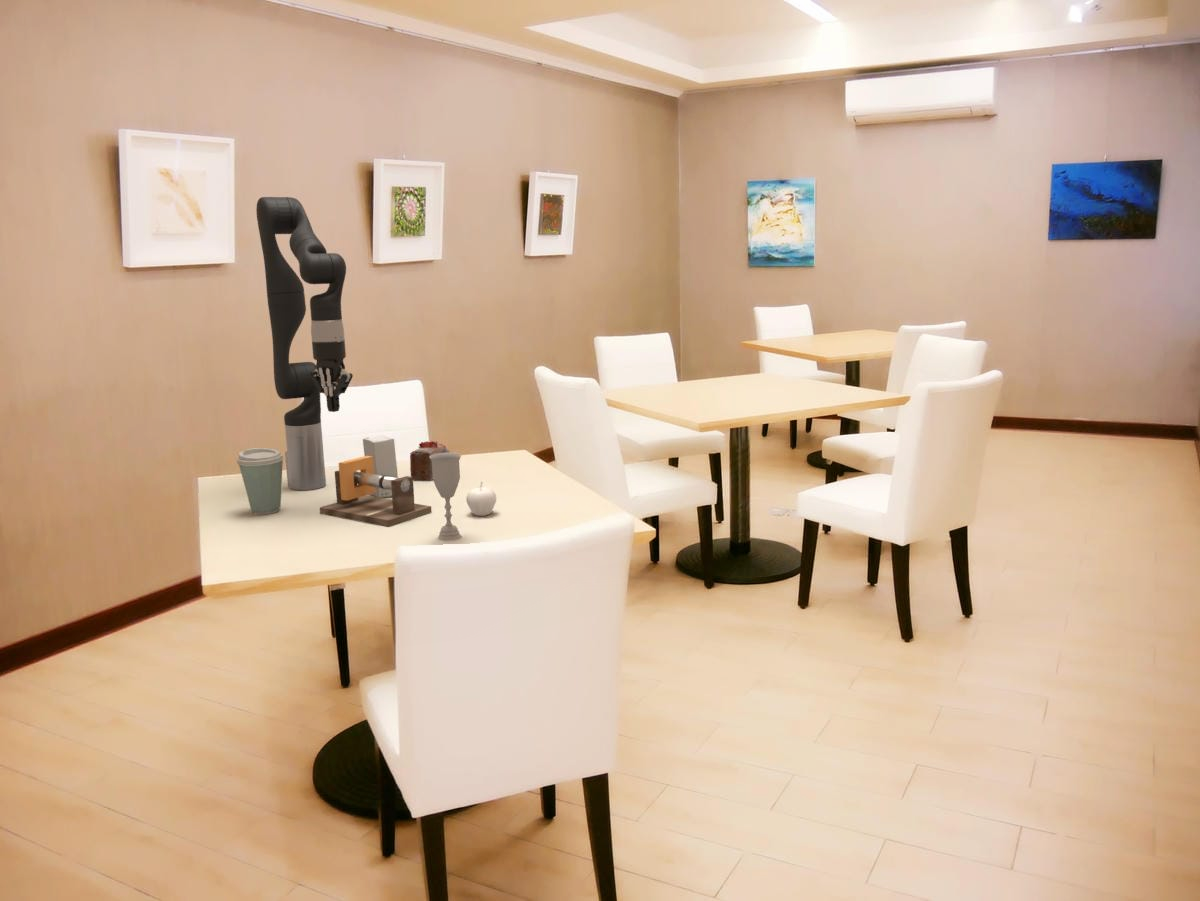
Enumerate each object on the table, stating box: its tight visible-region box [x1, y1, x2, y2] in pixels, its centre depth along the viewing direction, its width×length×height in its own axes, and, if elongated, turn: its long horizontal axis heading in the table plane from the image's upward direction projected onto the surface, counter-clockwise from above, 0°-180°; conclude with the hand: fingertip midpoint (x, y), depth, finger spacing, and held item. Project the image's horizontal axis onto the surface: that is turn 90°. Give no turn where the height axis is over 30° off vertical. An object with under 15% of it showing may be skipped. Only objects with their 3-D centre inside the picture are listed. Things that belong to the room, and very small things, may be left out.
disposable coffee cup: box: [236, 447, 284, 516], centre depth 232 cm, size 11×11×15 cm
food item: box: [409, 440, 450, 482], centre depth 268 cm, size 14×8×10 cm, turn 170°
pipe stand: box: [319, 470, 432, 528], centre depth 230 cm, size 23×14×10 cm, turn 57°
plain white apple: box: [465, 481, 497, 517], centre depth 227 cm, size 7×7×8 cm
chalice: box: [429, 452, 462, 541], centre depth 208 cm, size 7×7×18 cm
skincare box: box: [362, 434, 399, 498], centre depth 247 cm, size 8×6×15 cm
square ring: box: [338, 456, 375, 501], centre depth 232 cm, size 2×9×9 cm, turn 146°
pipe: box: [353, 471, 410, 492], centre depth 229 cm, size 21×3×3 cm, turn 57°
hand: (333, 411), depth 232 cm, fingers closed
